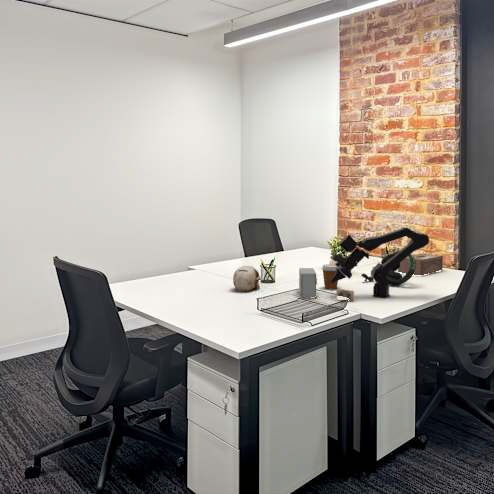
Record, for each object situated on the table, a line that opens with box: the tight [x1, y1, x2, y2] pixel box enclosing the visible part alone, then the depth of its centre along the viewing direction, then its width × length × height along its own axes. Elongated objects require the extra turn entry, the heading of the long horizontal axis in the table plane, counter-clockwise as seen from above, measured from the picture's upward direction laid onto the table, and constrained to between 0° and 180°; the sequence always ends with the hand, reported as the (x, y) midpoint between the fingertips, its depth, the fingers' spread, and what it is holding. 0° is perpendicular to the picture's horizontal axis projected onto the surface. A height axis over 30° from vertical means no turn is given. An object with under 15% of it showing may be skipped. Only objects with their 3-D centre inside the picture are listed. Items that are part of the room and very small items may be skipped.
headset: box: [360, 250, 416, 286], centre depth 282 cm, size 18×14×29 cm
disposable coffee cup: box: [321, 263, 339, 291], centre depth 273 cm, size 10×10×12 cm
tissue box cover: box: [397, 253, 444, 275], centre depth 318 cm, size 26×14×10 cm, turn 131°
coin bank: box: [232, 265, 262, 293], centre depth 272 cm, size 16×17×13 cm
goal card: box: [335, 288, 355, 303], centre depth 244 cm, size 8×1×5 cm, turn 63°
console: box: [298, 267, 317, 299], centre depth 258 cm, size 8×16×12 cm, turn 178°
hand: (331, 282), depth 254 cm, fingers closed
